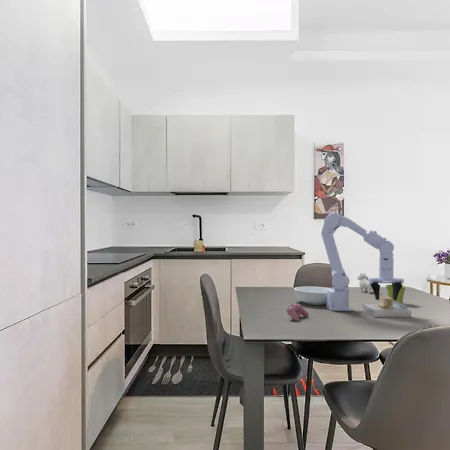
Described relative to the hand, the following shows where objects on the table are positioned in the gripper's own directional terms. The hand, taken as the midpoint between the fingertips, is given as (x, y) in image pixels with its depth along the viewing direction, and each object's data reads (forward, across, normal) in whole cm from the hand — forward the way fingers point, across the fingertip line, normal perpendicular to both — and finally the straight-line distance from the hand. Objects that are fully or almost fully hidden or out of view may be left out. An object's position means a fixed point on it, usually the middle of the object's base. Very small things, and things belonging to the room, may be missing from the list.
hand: (386, 299), depth 168 cm
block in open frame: (+6, 0, 0) cm, 6 cm away
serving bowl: (+6, -25, +23) cm, 35 cm away
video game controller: (+6, -41, -9) cm, 42 cm away
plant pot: (+6, +15, +23) cm, 28 cm away
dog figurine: (+6, +13, +56) cm, 58 cm away
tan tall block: (+6, 0, 0) cm, 6 cm away
